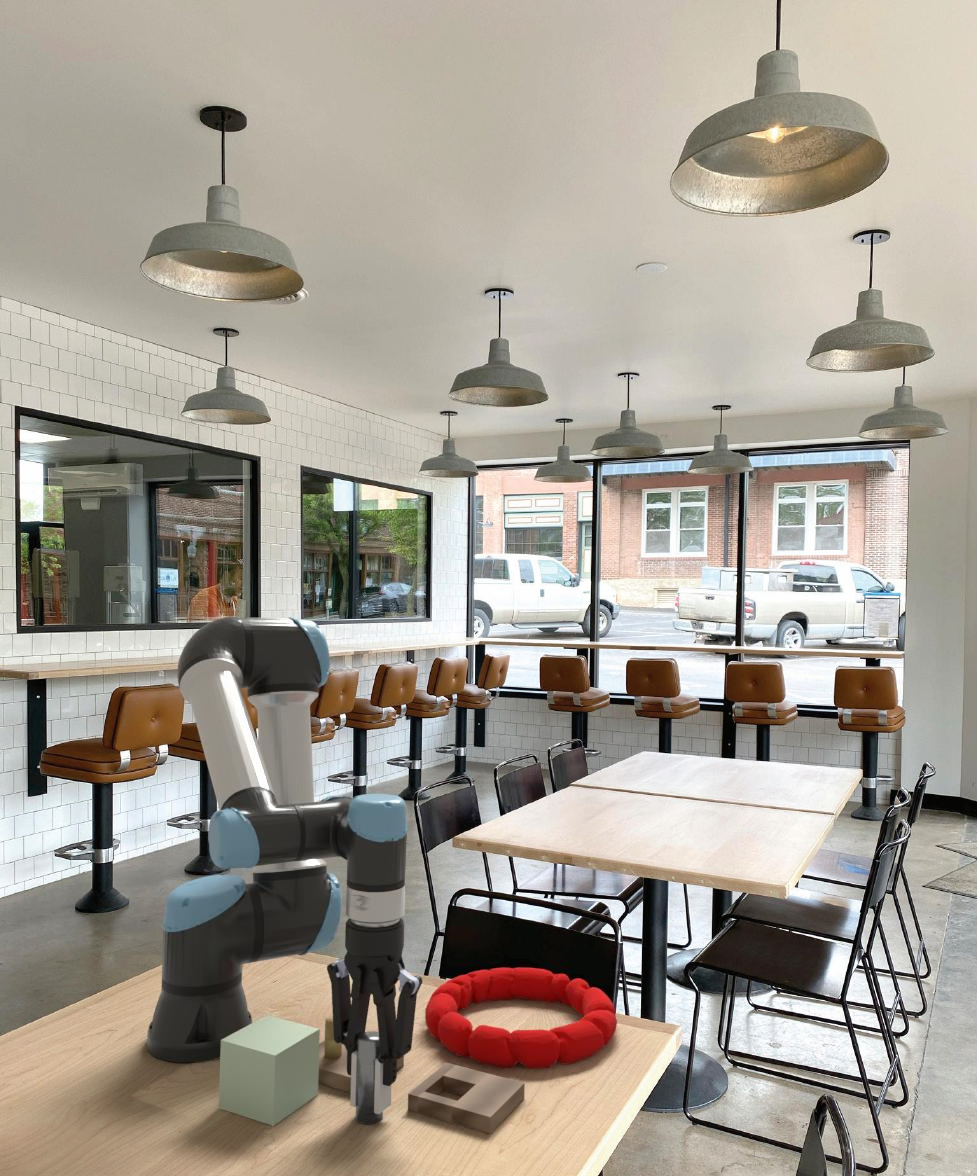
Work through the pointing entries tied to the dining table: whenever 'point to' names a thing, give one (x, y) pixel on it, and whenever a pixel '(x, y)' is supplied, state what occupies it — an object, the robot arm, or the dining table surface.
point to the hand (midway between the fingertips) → (370, 1104)
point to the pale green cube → (269, 1069)
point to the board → (336, 1061)
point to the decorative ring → (521, 1044)
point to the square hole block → (467, 1097)
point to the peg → (367, 1077)
